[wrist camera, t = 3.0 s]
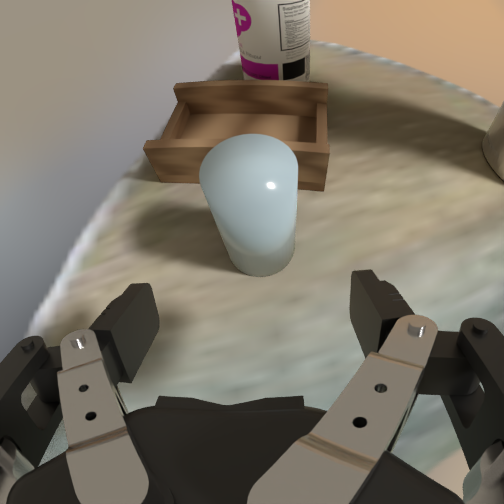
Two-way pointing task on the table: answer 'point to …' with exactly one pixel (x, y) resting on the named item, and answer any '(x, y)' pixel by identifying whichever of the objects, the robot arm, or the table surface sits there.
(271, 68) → the supplement can
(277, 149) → the domed pale cylinder
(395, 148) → the table surface
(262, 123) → the wooden serving tray
